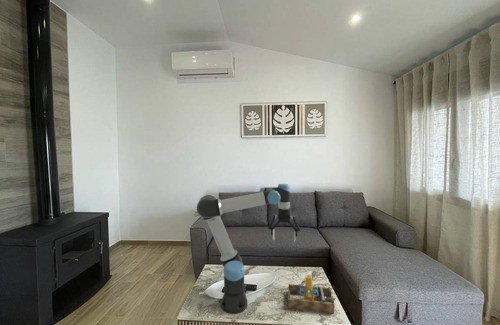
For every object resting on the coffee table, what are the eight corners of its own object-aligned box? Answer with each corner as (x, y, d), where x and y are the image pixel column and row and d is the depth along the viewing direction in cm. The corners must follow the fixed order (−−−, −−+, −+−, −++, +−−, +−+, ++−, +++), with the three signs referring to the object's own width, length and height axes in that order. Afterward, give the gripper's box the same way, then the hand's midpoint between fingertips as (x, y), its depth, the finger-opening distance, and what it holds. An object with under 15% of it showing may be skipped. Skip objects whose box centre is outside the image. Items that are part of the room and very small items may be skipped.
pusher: (322, 309, 128) (322, 299, 128) (320, 295, 141) (320, 286, 141) (336, 311, 127) (336, 301, 126) (333, 297, 139) (333, 288, 139)
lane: (287, 307, 130) (287, 297, 130) (288, 291, 146) (288, 282, 146) (334, 313, 125) (334, 302, 125) (329, 295, 141) (329, 286, 141)
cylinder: (304, 309, 129) (303, 282, 129) (295, 298, 139) (295, 273, 139) (323, 305, 132) (322, 279, 132) (313, 294, 142) (313, 270, 142)
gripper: (264, 208, 148) (264, 241, 148) (303, 210, 142) (303, 244, 143) (265, 205, 155) (265, 237, 155) (303, 207, 150) (303, 239, 150)
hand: (284, 240), depth 149 cm, fingers open, 13 cm apart
